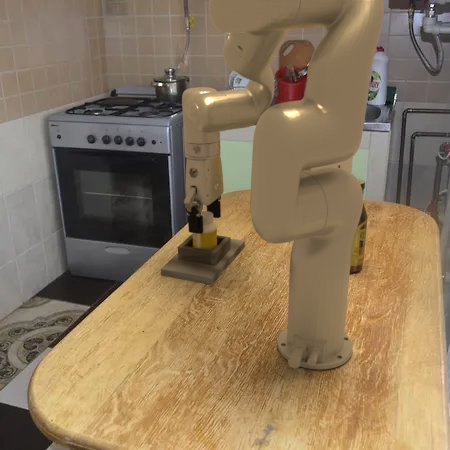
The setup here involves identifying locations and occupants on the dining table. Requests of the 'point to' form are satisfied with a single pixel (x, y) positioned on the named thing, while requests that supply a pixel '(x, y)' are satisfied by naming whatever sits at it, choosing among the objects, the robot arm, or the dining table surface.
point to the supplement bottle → (206, 233)
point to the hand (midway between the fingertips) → (205, 224)
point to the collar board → (202, 260)
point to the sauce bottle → (359, 239)
